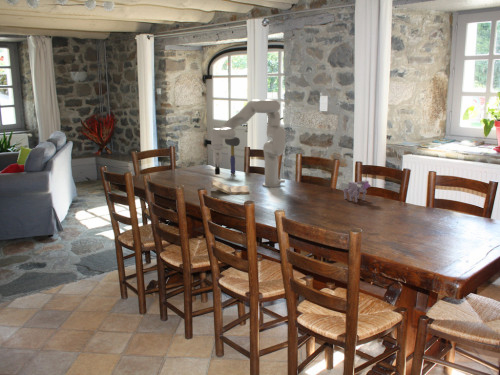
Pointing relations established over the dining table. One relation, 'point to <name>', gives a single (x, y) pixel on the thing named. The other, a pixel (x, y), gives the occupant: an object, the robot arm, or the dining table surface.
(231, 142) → the rubber mallet
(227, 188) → the oak plank
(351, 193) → the toy sheep
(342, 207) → the dining table surface
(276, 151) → the robot arm
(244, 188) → the laid board
